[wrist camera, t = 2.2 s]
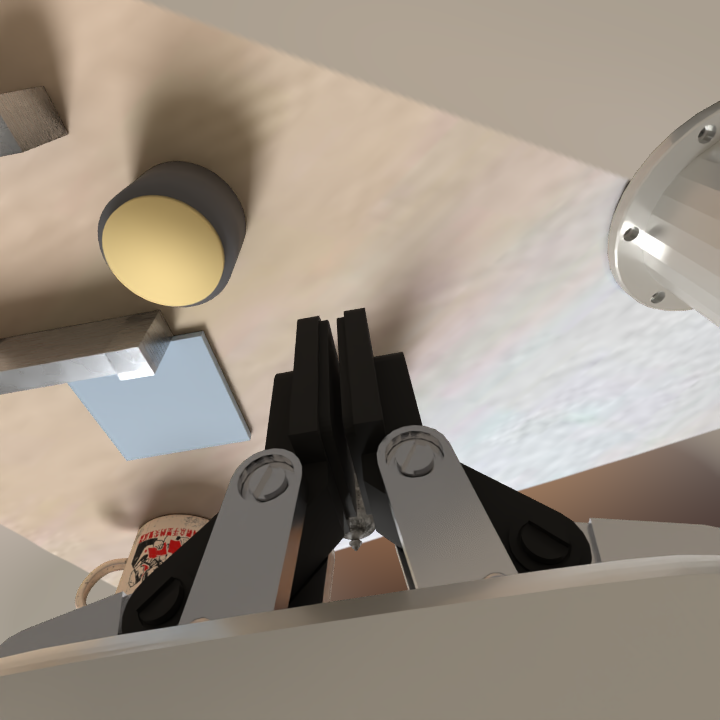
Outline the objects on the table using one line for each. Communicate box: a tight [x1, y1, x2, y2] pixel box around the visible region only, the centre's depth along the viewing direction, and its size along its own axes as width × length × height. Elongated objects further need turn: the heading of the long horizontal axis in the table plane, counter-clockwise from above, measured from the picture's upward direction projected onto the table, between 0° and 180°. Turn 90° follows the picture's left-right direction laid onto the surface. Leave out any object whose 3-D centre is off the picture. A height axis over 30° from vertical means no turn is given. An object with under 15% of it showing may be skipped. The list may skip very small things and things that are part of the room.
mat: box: [68, 331, 251, 461], centre depth 31 cm, size 10×10×1 cm
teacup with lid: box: [75, 515, 210, 609], centre depth 37 cm, size 12×9×12 cm
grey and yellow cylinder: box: [98, 161, 246, 307], centre depth 22 cm, size 6×6×5 cm
